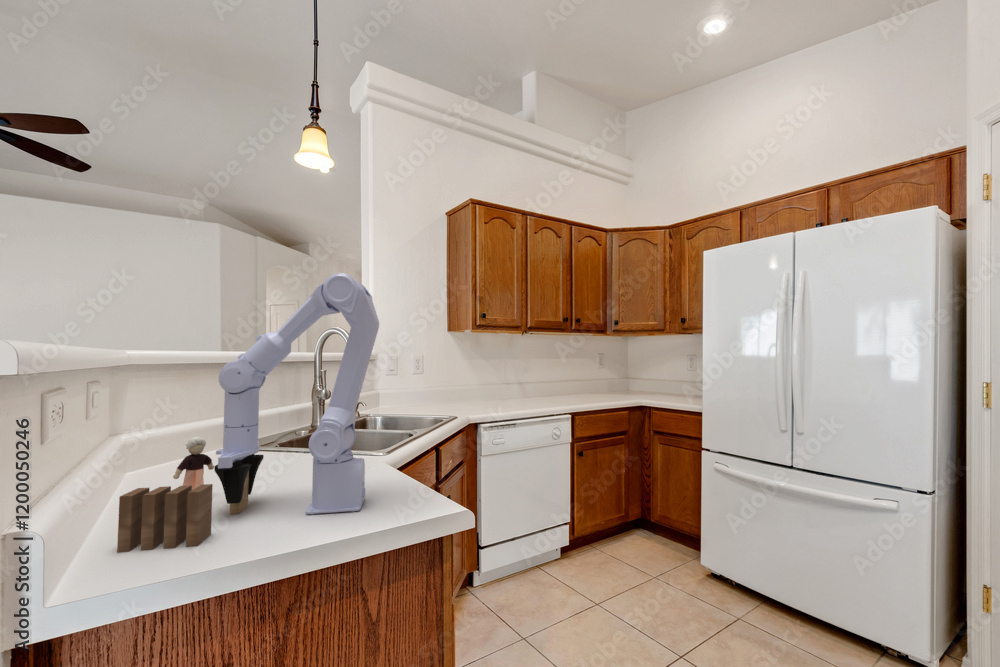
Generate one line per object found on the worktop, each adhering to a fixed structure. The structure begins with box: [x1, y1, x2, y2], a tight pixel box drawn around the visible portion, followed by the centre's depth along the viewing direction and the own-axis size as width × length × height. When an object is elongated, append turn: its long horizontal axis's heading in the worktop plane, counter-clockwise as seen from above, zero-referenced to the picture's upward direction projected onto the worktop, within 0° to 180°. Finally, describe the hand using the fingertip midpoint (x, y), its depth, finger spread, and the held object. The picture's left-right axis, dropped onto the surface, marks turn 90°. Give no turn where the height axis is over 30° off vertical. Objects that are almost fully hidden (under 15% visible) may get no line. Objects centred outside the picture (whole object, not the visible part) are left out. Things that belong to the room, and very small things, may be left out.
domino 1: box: [116, 487, 150, 553], centre depth 67 cm, size 2×4×8 cm, turn 10°
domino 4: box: [185, 483, 213, 548], centre depth 69 cm, size 2×4×8 cm, turn 10°
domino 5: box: [229, 471, 249, 515], centre depth 83 cm, size 2×4×8 cm, turn 11°
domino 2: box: [140, 485, 172, 552], centre depth 68 cm, size 2×4×8 cm, turn 11°
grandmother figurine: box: [172, 436, 215, 490], centre depth 89 cm, size 8×4×13 cm, turn 168°
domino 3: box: [162, 485, 192, 550], centre depth 68 cm, size 2×4×8 cm, turn 11°
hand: (239, 498), depth 83 cm, fingers closed on domino 5, 4 cm apart
